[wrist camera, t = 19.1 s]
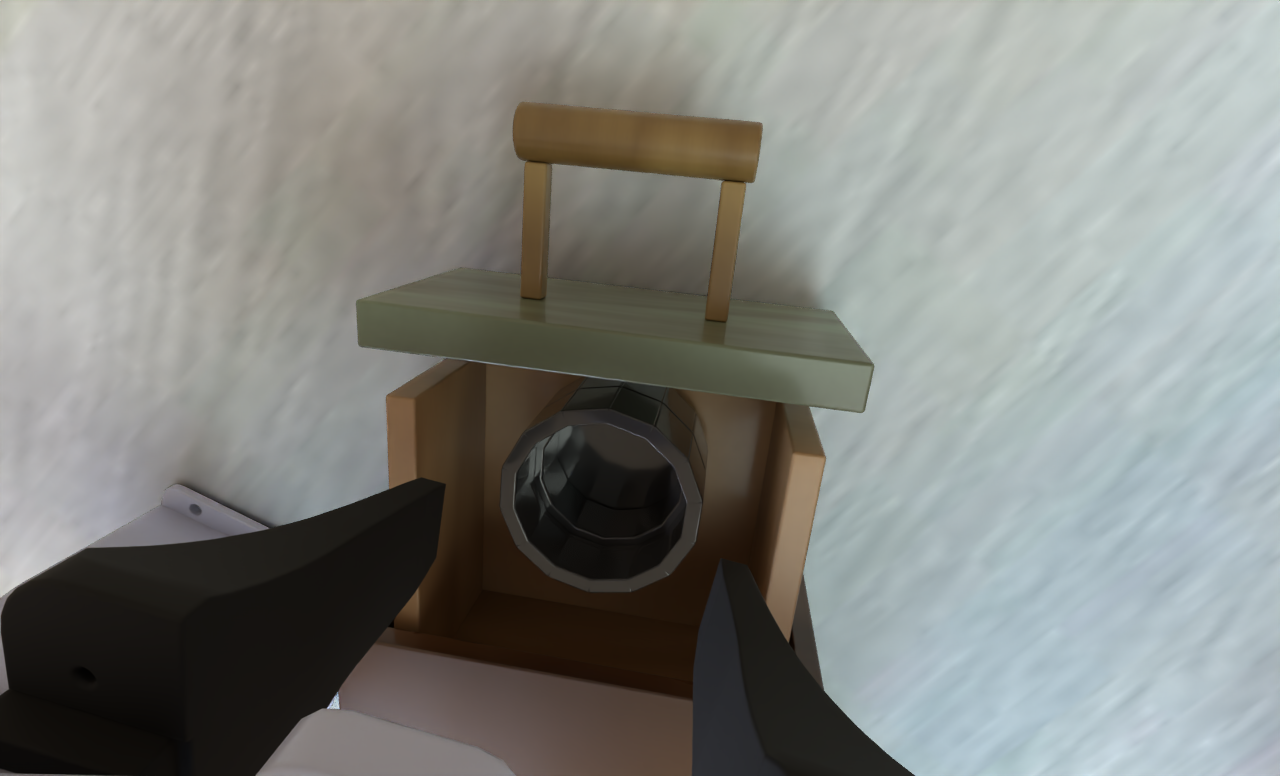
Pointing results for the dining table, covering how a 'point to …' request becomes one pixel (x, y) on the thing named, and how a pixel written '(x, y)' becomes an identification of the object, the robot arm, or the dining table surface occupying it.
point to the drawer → (621, 351)
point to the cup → (607, 485)
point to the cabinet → (539, 703)
